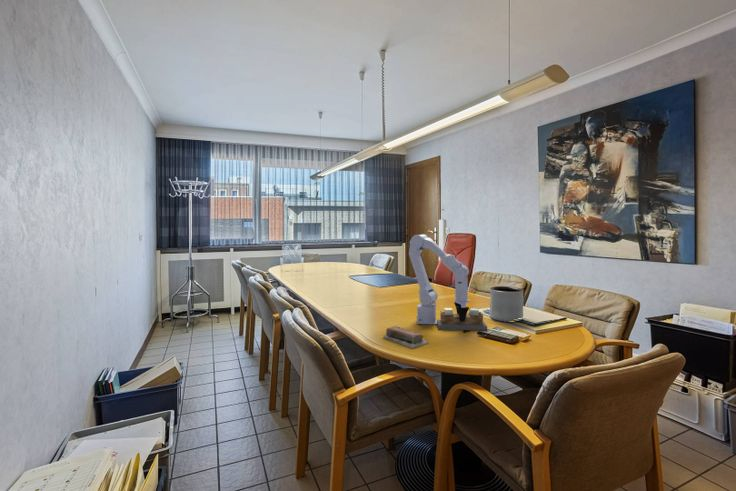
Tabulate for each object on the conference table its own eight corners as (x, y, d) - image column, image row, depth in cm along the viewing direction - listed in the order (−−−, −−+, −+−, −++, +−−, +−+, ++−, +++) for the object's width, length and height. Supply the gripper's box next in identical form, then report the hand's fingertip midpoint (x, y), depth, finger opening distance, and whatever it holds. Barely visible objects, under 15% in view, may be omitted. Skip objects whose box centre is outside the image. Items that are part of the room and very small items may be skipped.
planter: (498, 313, 200) (498, 284, 199) (528, 318, 189) (528, 288, 188) (484, 318, 189) (484, 289, 188) (514, 325, 178) (515, 293, 177)
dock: (438, 329, 172) (438, 324, 172) (436, 323, 182) (436, 319, 181) (487, 330, 169) (487, 326, 169) (482, 324, 179) (482, 320, 179)
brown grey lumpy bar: (441, 323, 174) (441, 314, 173) (440, 320, 179) (440, 311, 179) (482, 324, 172) (482, 314, 171) (480, 321, 177) (480, 311, 177)
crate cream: (445, 316, 174) (445, 309, 174) (444, 314, 178) (444, 307, 178) (452, 316, 174) (452, 310, 173) (451, 314, 178) (451, 308, 177)
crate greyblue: (470, 316, 173) (470, 310, 172) (469, 314, 177) (469, 308, 176) (478, 316, 172) (478, 310, 172) (477, 314, 176) (477, 308, 176)
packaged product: (382, 328, 160) (398, 323, 166) (382, 339, 160) (398, 334, 166) (412, 337, 146) (429, 332, 152) (412, 349, 146) (429, 344, 153)
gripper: (472, 294, 167) (472, 323, 168) (467, 288, 181) (467, 315, 182) (456, 293, 167) (456, 323, 168) (452, 288, 182) (452, 315, 183)
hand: (461, 319), depth 175 cm, fingers open, 7 cm apart
